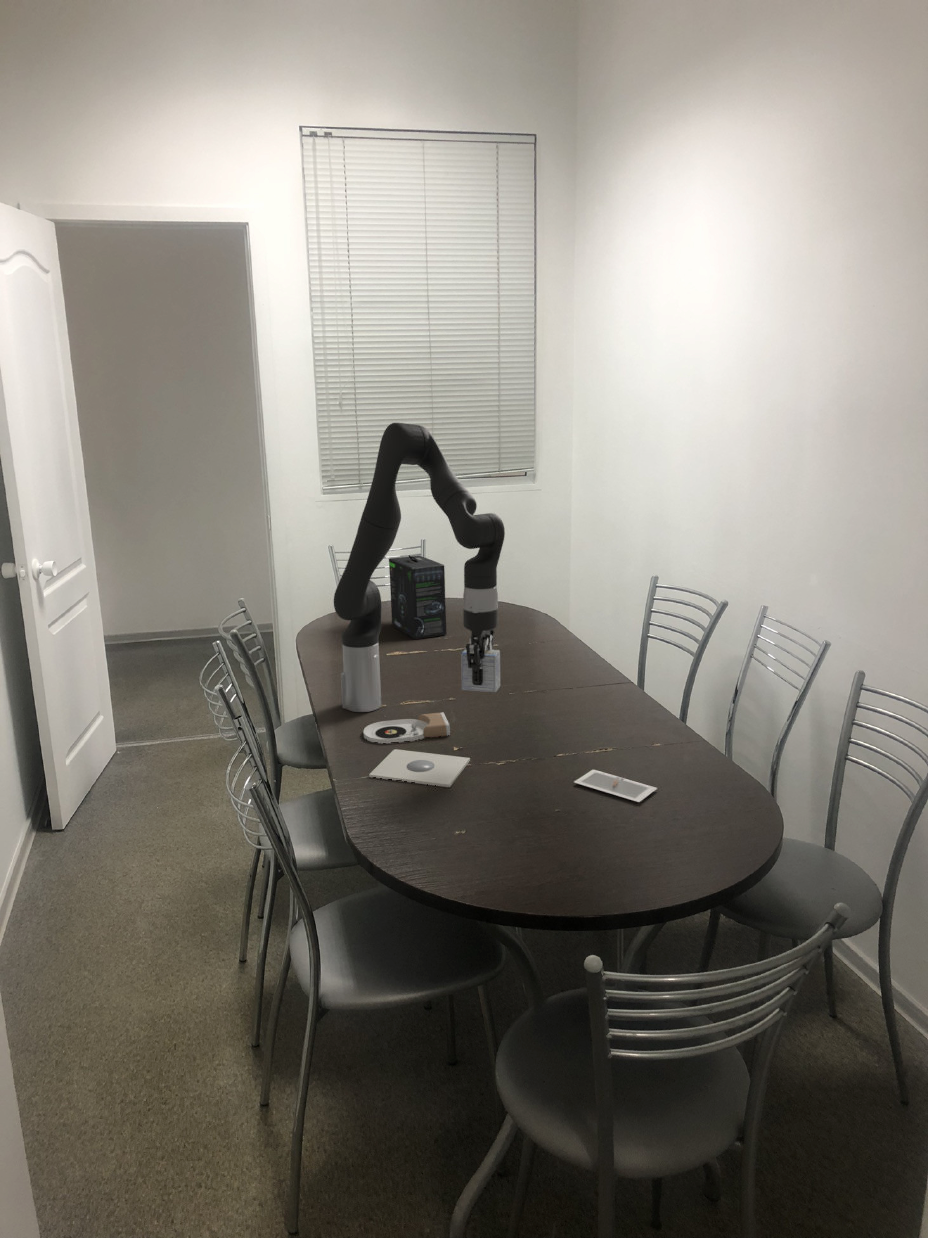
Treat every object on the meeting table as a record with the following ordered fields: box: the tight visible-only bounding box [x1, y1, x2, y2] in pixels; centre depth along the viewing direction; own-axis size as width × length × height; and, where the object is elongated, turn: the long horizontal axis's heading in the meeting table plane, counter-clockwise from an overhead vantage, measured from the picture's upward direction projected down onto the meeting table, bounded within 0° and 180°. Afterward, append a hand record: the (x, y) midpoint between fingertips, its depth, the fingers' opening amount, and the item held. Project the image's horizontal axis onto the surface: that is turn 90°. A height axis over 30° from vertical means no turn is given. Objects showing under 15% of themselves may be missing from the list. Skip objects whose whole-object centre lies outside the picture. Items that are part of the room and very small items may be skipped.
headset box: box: [388, 554, 448, 640], centre depth 296 cm, size 22×12×26 cm, turn 25°
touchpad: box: [573, 769, 658, 803], centre depth 178 cm, size 8×15×2 cm, turn 51°
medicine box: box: [460, 648, 501, 693], centre depth 193 cm, size 8×4×9 cm, turn 74°
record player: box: [363, 712, 451, 744], centre depth 209 cm, size 12×3×20 cm
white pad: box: [368, 748, 471, 788], centre depth 189 cm, size 18×14×1 cm
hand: (480, 680), depth 194 cm, fingers closed on medicine box, 4 cm apart
